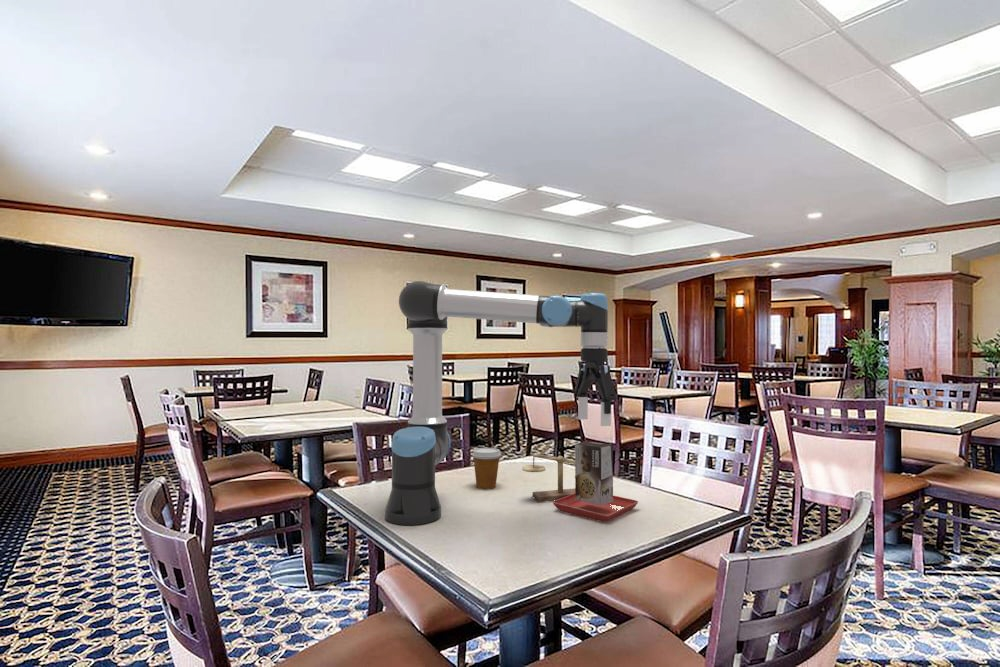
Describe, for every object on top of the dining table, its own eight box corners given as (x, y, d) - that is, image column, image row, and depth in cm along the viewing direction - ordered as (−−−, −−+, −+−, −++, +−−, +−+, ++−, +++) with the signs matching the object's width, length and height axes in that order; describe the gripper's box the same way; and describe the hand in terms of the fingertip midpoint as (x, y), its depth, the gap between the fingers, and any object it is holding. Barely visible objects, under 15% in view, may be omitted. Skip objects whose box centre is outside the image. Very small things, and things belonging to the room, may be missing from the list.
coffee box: (614, 501, 154) (614, 444, 155) (601, 506, 150) (601, 447, 150) (587, 495, 160) (587, 440, 161) (574, 500, 156) (574, 442, 156)
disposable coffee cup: (498, 491, 175) (498, 453, 175) (468, 489, 176) (469, 452, 177) (502, 483, 184) (502, 448, 185) (474, 482, 186) (475, 447, 186)
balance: (527, 504, 161) (527, 456, 161) (518, 497, 167) (518, 452, 168) (601, 496, 169) (601, 452, 169) (590, 491, 175) (590, 448, 175)
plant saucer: (639, 511, 156) (639, 500, 156) (607, 527, 142) (607, 515, 142) (585, 499, 168) (585, 489, 168) (550, 513, 154) (550, 501, 154)
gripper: (629, 348, 145) (629, 428, 145) (585, 347, 169) (585, 416, 169) (604, 347, 143) (603, 429, 143) (563, 347, 167) (563, 417, 166)
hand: (593, 422), depth 156 cm, fingers open, 13 cm apart
